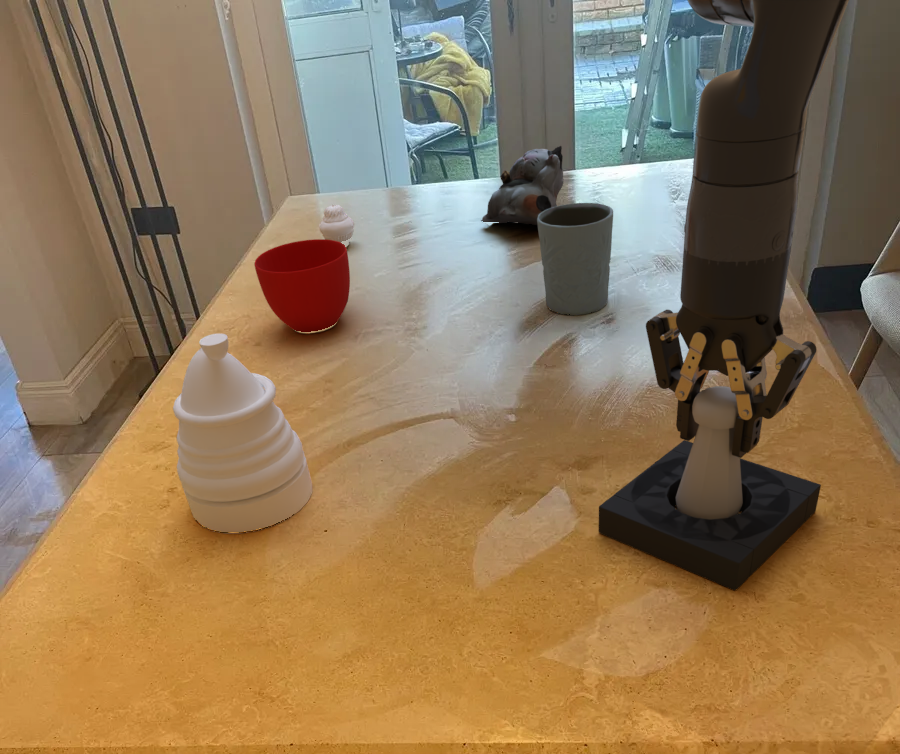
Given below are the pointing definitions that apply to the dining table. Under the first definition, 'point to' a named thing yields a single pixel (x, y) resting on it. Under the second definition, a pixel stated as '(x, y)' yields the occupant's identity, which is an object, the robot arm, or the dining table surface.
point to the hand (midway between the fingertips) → (715, 443)
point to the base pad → (703, 540)
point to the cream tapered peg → (712, 459)
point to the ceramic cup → (306, 282)
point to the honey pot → (236, 445)
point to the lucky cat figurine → (527, 188)
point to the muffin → (336, 224)
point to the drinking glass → (576, 256)
